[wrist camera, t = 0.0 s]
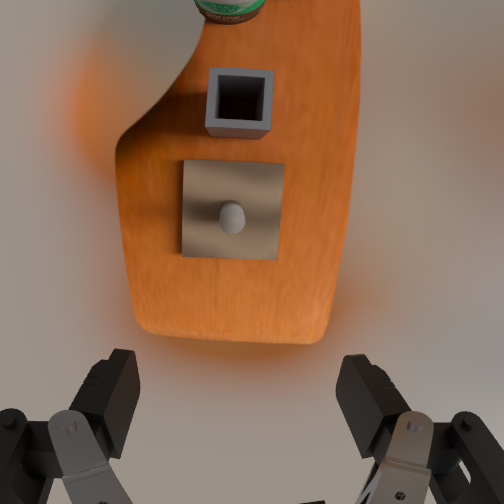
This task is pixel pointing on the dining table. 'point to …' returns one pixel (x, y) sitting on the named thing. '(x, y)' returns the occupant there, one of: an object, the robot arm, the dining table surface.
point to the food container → (229, 10)
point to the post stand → (231, 209)
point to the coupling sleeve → (239, 86)
